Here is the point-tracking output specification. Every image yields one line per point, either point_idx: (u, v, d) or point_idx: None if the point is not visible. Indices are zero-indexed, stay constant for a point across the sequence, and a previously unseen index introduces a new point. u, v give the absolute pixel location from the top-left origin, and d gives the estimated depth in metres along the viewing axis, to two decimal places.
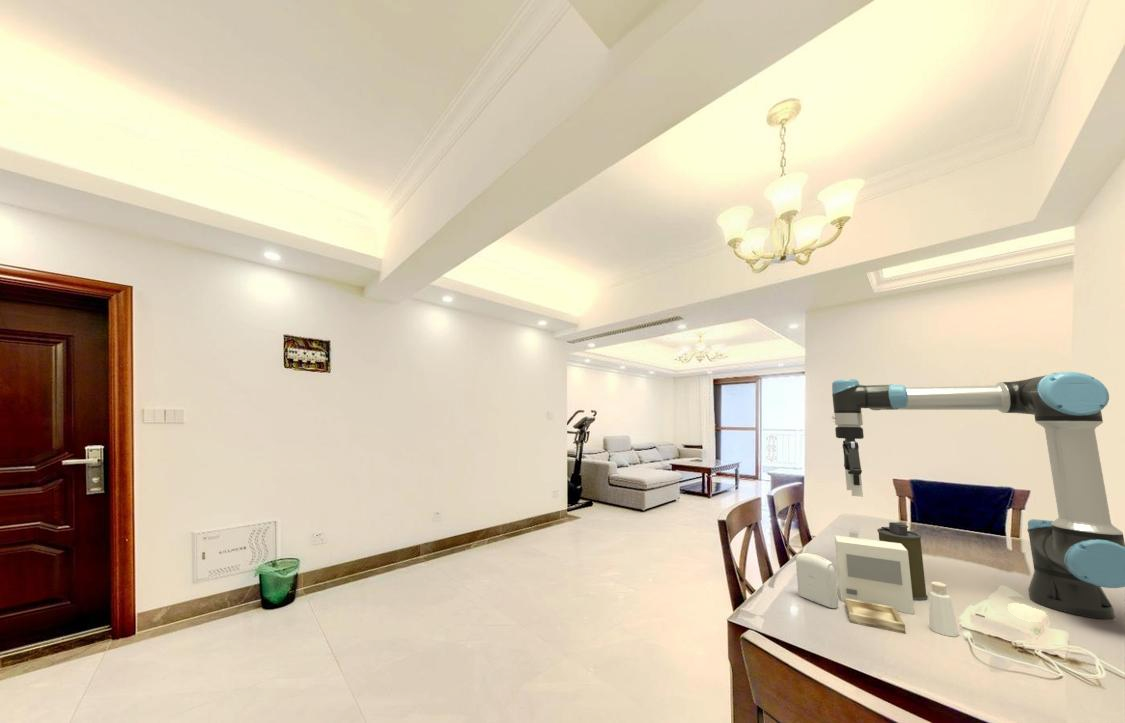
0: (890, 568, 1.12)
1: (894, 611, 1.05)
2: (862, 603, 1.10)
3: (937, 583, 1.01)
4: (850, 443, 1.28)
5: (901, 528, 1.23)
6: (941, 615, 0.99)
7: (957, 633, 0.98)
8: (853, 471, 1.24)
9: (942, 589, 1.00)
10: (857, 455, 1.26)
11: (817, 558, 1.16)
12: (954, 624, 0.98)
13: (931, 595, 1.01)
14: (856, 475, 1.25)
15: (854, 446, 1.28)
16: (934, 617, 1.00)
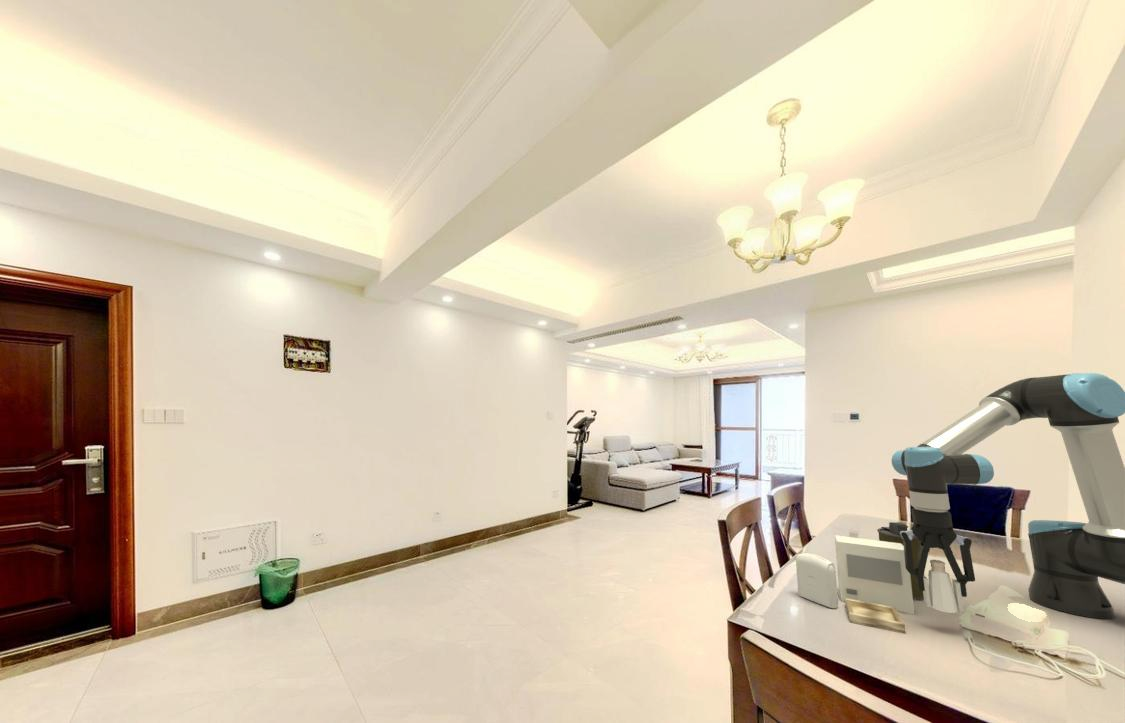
0: (890, 568, 1.12)
1: (894, 611, 1.05)
2: (862, 603, 1.10)
3: (936, 561, 1.02)
4: (900, 533, 1.06)
5: (901, 528, 1.23)
6: (941, 592, 0.99)
7: (957, 609, 0.99)
8: (907, 570, 1.05)
9: (941, 567, 1.01)
10: (905, 550, 1.04)
11: (817, 558, 1.16)
12: (953, 601, 0.99)
13: (930, 573, 1.02)
14: (916, 576, 1.03)
15: (902, 538, 1.05)
16: (933, 595, 1.01)
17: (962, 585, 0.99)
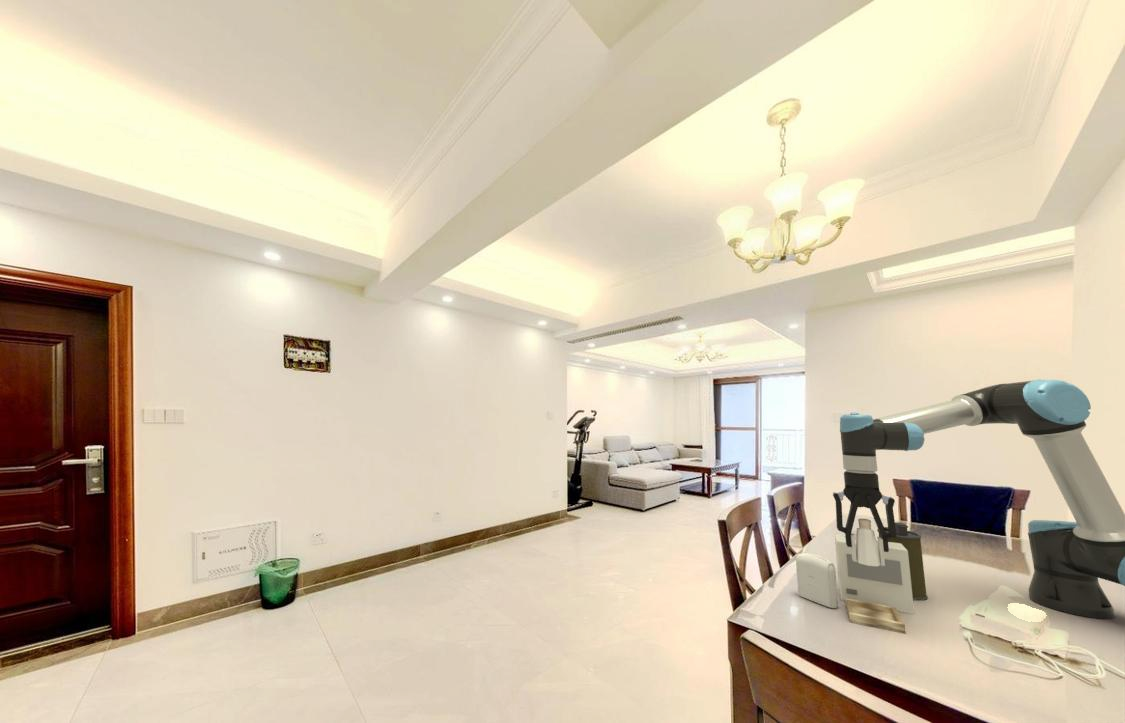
0: (890, 568, 1.12)
1: (894, 611, 1.05)
2: (862, 603, 1.10)
3: (863, 519, 1.09)
4: None
5: (901, 528, 1.23)
6: (865, 548, 1.07)
7: (879, 563, 1.06)
8: None
9: (867, 524, 1.08)
10: (836, 510, 1.12)
11: (817, 558, 1.16)
12: (876, 555, 1.06)
13: (857, 530, 1.09)
14: (845, 534, 1.11)
15: None
16: (859, 550, 1.08)
17: (884, 541, 1.06)
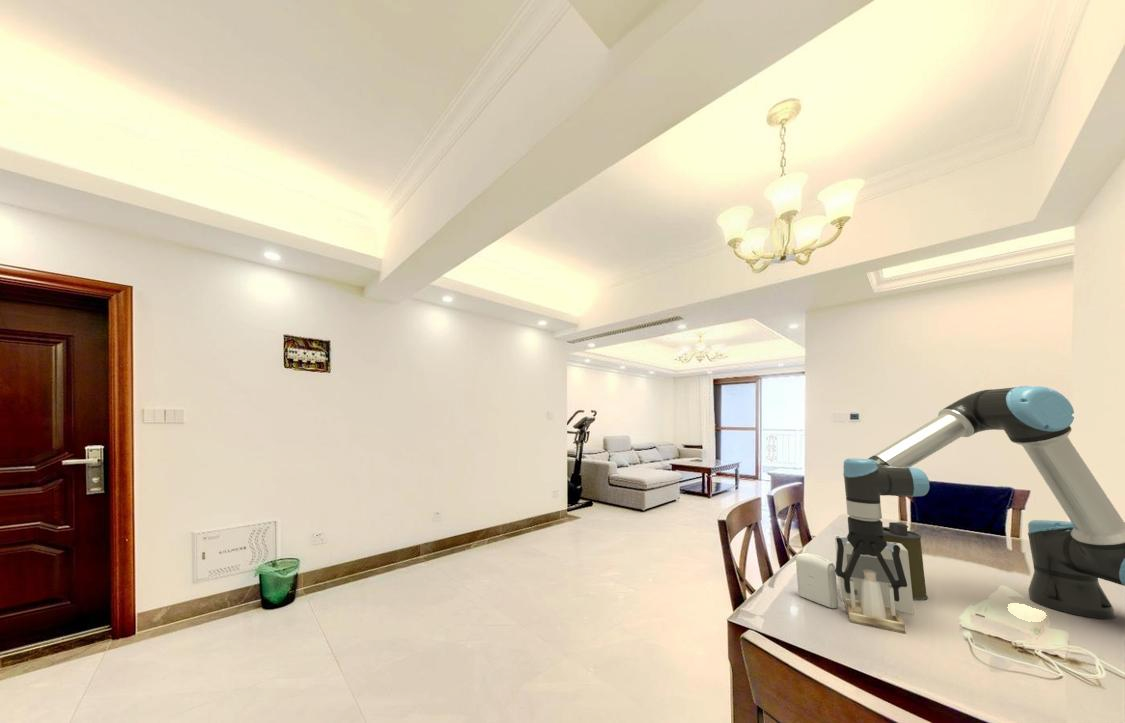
0: (890, 568, 1.12)
1: None
2: None
3: (868, 571, 1.07)
4: (836, 539, 1.12)
5: (901, 528, 1.23)
6: (870, 601, 1.05)
7: (885, 617, 1.04)
8: None
9: (872, 576, 1.06)
10: (837, 554, 1.10)
11: (817, 558, 1.16)
12: (882, 609, 1.04)
13: (862, 582, 1.07)
14: (844, 579, 1.09)
15: (837, 543, 1.11)
16: (864, 603, 1.06)
17: (895, 590, 1.04)
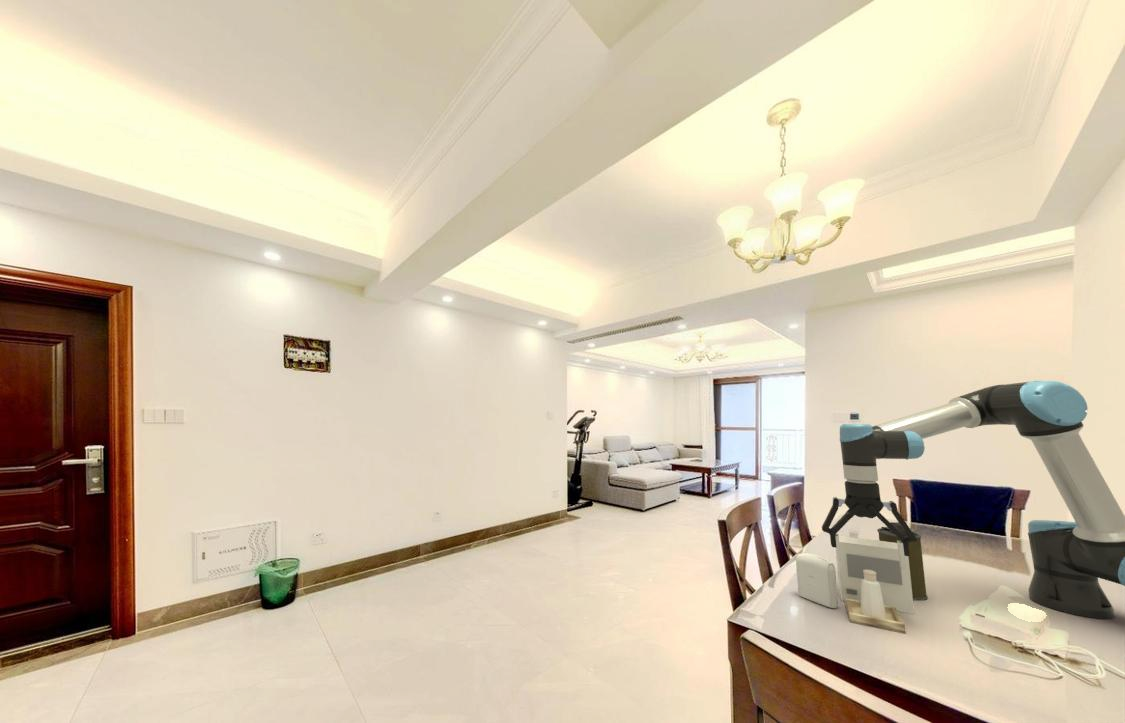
0: (890, 568, 1.12)
1: (894, 611, 1.05)
2: None
3: (868, 571, 1.07)
4: (833, 499, 1.14)
5: (901, 528, 1.23)
6: (870, 601, 1.05)
7: (885, 617, 1.04)
8: (822, 528, 1.14)
9: (872, 576, 1.06)
10: (829, 512, 1.12)
11: (817, 558, 1.16)
12: (882, 609, 1.04)
13: (862, 582, 1.07)
14: (830, 535, 1.12)
15: (833, 502, 1.13)
16: (864, 603, 1.06)
17: (905, 545, 1.04)
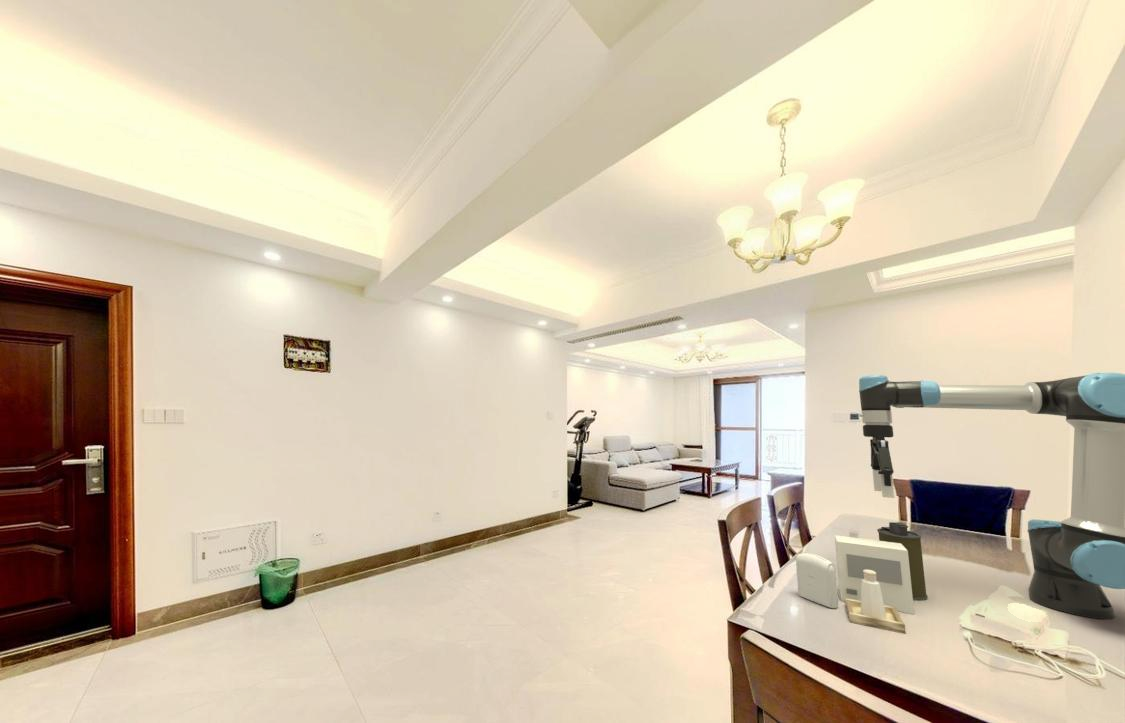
0: (890, 568, 1.12)
1: (894, 611, 1.05)
2: None
3: (868, 571, 1.07)
4: (880, 442, 1.23)
5: (901, 528, 1.23)
6: (870, 601, 1.05)
7: (885, 617, 1.04)
8: (884, 471, 1.19)
9: (872, 576, 1.06)
10: (888, 454, 1.20)
11: (817, 558, 1.16)
12: (882, 609, 1.04)
13: (862, 582, 1.07)
14: (887, 475, 1.19)
15: (884, 445, 1.22)
16: (864, 603, 1.06)
17: None
